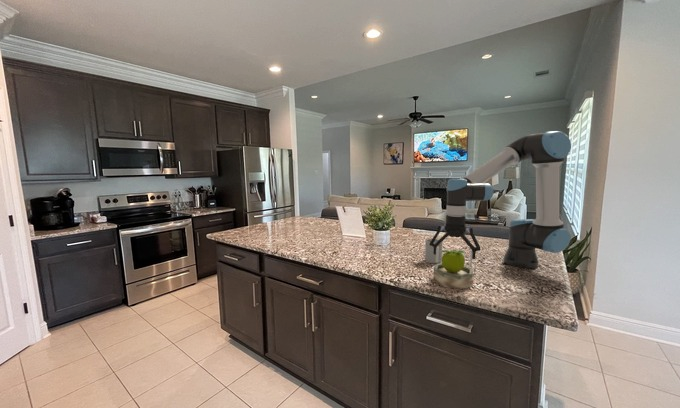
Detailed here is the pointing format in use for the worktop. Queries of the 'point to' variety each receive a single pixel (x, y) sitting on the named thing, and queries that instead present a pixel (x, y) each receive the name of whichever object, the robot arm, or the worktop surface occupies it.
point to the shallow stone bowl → (453, 277)
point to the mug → (432, 252)
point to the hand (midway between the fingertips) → (453, 263)
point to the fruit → (453, 261)
